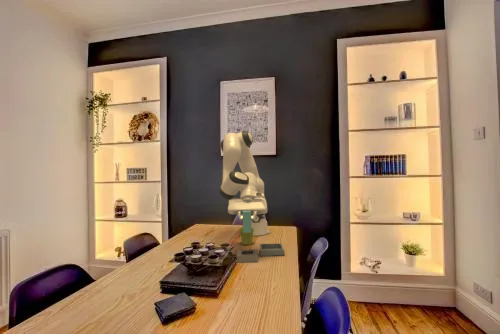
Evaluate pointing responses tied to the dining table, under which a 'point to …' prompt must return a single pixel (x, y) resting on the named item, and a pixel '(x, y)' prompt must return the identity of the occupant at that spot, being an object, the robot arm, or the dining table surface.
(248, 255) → the grey flat square block
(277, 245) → the parts tray
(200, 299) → the dining table surface
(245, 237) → the plant pot
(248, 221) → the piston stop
